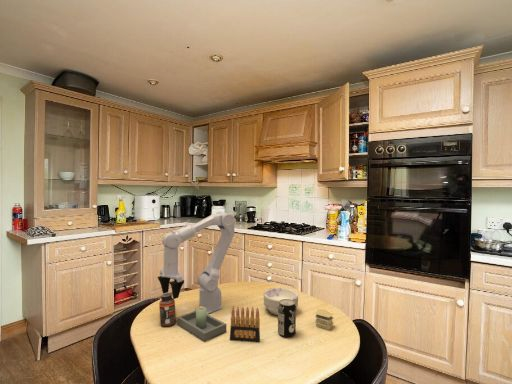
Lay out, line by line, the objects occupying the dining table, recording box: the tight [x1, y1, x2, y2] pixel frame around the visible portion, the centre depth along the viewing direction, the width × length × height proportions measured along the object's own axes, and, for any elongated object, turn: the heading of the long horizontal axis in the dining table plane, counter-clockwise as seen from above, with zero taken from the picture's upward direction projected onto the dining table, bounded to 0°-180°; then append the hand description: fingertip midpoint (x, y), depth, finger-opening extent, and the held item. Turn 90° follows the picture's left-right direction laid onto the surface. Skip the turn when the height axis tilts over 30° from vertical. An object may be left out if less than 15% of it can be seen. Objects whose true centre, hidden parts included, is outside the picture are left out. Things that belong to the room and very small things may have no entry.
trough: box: [176, 310, 227, 343], centre depth 109 cm, size 10×18×3 cm, turn 47°
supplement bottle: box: [158, 292, 177, 327], centre depth 112 cm, size 6×6×11 cm
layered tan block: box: [314, 308, 335, 331], centre depth 112 cm, size 10×9×6 cm
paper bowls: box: [263, 287, 299, 316], centre depth 126 cm, size 15×15×8 cm
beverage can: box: [277, 299, 297, 338], centre depth 106 cm, size 7×7×12 cm
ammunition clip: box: [229, 305, 261, 343], centre depth 101 cm, size 11×2×12 cm, turn 84°
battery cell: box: [195, 306, 207, 329], centre depth 109 cm, size 4×4×8 cm
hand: (170, 295), depth 117 cm, fingers open, 7 cm apart
